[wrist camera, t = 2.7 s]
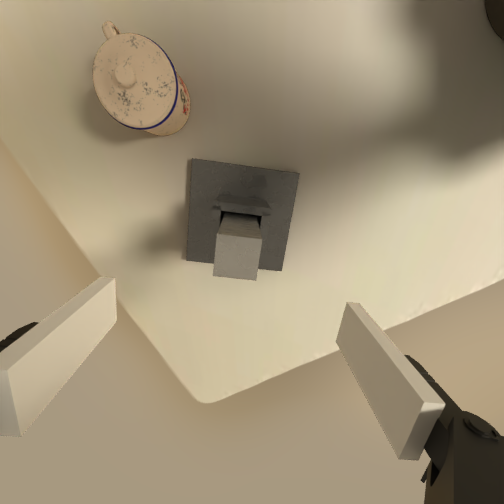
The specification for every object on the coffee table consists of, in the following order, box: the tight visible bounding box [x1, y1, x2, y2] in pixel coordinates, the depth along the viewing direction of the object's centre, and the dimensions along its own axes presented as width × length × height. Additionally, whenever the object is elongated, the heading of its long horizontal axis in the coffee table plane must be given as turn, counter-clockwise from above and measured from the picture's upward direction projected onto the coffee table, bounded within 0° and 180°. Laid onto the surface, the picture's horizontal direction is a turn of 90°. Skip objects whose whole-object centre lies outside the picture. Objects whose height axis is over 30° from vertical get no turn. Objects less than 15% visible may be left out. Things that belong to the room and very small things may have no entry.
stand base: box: [187, 158, 299, 271], centre depth 36 cm, size 16×16×10 cm
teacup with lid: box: [93, 21, 190, 136], centre depth 30 cm, size 12×9×12 cm
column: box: [213, 211, 262, 281], centre depth 31 cm, size 5×4×18 cm
